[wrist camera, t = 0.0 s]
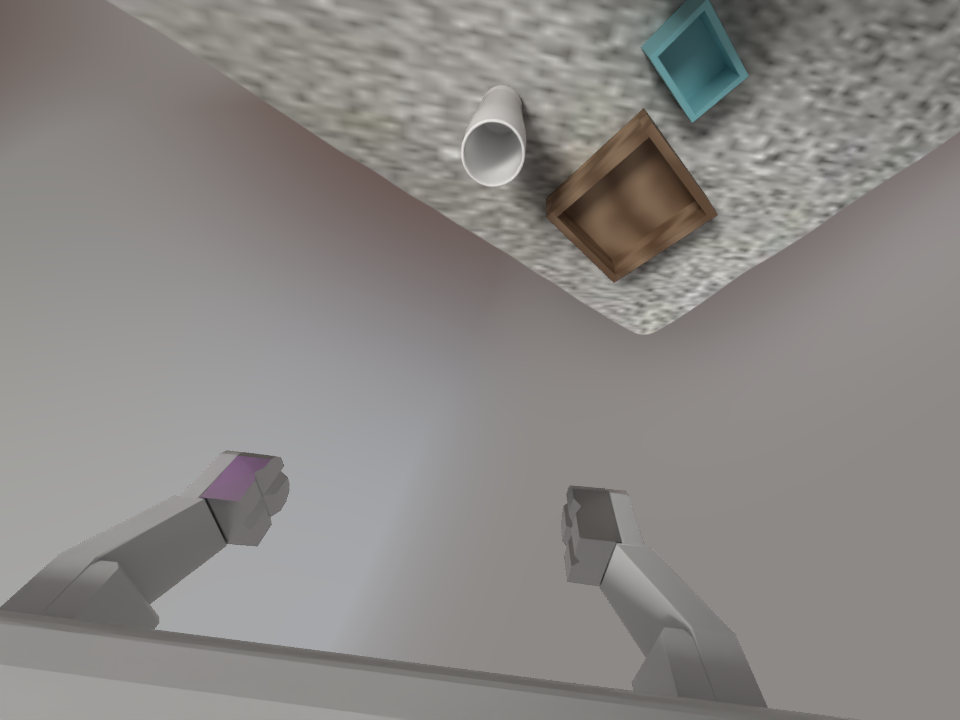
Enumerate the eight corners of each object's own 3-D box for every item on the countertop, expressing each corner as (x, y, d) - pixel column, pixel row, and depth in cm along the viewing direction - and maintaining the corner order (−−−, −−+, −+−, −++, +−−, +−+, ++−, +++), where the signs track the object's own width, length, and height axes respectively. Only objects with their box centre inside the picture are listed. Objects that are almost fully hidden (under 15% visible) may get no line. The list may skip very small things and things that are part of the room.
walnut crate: (643, 108, 47) (652, 123, 43) (705, 195, 54) (717, 214, 51) (546, 198, 57) (546, 217, 53) (609, 262, 64) (613, 282, 60)
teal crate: (693, -9, 39) (707, -2, 36) (732, 64, 43) (748, 76, 40) (640, 46, 43) (649, 57, 40) (681, 108, 47) (692, 122, 44)
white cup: (538, 92, 47) (538, 137, 37) (513, 146, 52) (507, 198, 42) (488, 65, 45) (474, 104, 36) (467, 123, 50) (451, 171, 40)
